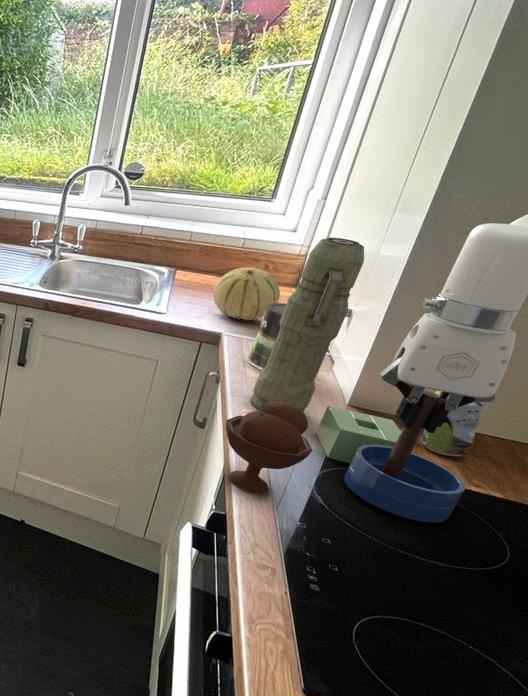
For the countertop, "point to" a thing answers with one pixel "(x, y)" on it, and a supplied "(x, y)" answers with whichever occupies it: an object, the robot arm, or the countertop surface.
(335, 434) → the utensil holder
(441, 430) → the beverage can
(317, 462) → the countertop surface
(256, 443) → the ice cream bowl
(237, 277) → the cantaloupe
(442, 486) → the mixing bowl
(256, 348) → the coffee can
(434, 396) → the stirring stick
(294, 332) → the thermos
